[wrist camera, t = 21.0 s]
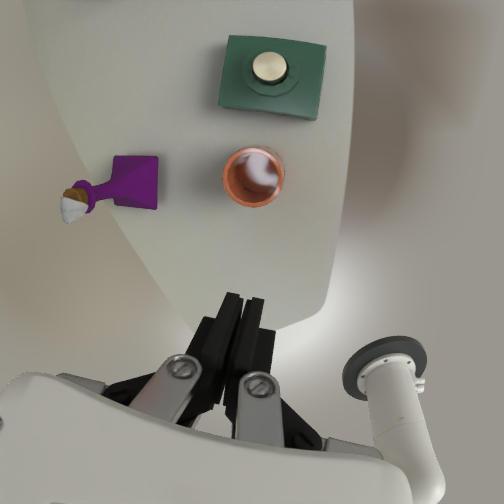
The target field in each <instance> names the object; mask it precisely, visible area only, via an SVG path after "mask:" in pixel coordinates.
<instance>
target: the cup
mask: <svg viewBox="0 0 504 504" xmlns="http://www.w3.org/2000/svg"><path fill="white" fill-rule="evenodd" d="M284 176H285V166H284V163H283V160H282V159H281V157H280V156H279V155H278V154H277V153H276V152H275V151H273V150H272V149H270V148H267V147H260V146H257V147H251V148H247V149H243V150H239V151H238V152H236V153H235V154H234V155H233V156H231V157H230V158H229V160H228V161H227V163H226V165H225V167H224V170H223V178H222V179H223V183H224V187H225V190H226V192H227V193H228V194H229V196H230V197H231V198H232V199H233V200H234V201H236V202H237V203H239V204H241V205H242V206H247V207H253V208H255V207H260V206H264V205H267V204H268V203H270V202H271V201H273V200H274V199H275V198H276V197H277V195H278V193H279V192H280V190H281V188H282V185H283V181H284Z"/></svg>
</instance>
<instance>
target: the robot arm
mask: <svg viewBox="0 0 504 504" xmlns="http://www.w3.org/2000/svg"><path fill="white" fill-rule="evenodd" d="M239 296H240V295H239V294H235V293H230V292H227V294H226V296H225V298H224V301H223V303H222V305H221V307H220V310H219V312H218V314H217V316H216V319H215V318H211V317H206V316H204V317H203V319H202V321H201V323H200V325H199V327H198V329H197V331H196V333H195V335H194V337H193V339H192V341H191V343H190V345H189V347H188V349H187V351H186V353H185V354H177V355H173V356H171V357H169V358H168V359H167V360H166V361H165V362H164V363H163V364H162V365H161V367H160V368H159V369H158V370H157V372H154V373H151V374H148V375H144V376H140V377H137V378H133V379H129V380H126V381H122V382H118V383H115V384H112V385H110V386H108V385H106V384H105V383H104V382H100V381H95V380H91V379H87V378H83V377H79V376H75V375H71V374H67V373H61V374H58V375H56V376H54V375H51V374H46V373H39V372H26V373H23V374H21V375H19V376H17V377H16V378H15V379H13V380H12V381H11V382H10V383H9V384H8V385H7V386H6V387H5V388H4V389H3V390H2V391H1V392H0V504H437V503H438V502H439V501H440V500H441V498H442V497H443V495H444V492H445V479H444V476H443V473H442V471H441V468H440V466H439V464H438V461H437V459H436V456H435V453H434V451H433V447H432V444H431V441H430V437H429V434H428V430H427V426H426V423H425V419H424V416H423V412H422V409H421V405H420V402H419V399H418V395H417V393H422V392H423V391H424V385H423V384H424V383H425V378H416V377H415V370H416V366H415V363H414V361H413V359H412V358H411V357H410V356H408V355H407V354H403V353H391V354H386V355H383V356H380V357H378V358H376V359H374V360H372V361H371V362H369V363H368V364H367V365H366V366H364V368H363V369H362V370H361V371H360V373H359V374H358V377H357V386H358V389H359V390H360V391H361V392H362V393H363V394H365V395H367V399H368V405H369V411H370V418H371V425H372V431H373V440H374V448H373V447H370V446H364V445H360V444H356V443H351V442H347V441H342V440H338V439H334V438H331V437H329V438H328V439H325V438H322V437H320V436H319V434H318V433H317V432H316V431H315V430H314V429H313V428H312V427H311V426H309V425H308V424H307V423H306V422H305V421H304V420H303V419H302V418H301V417H300V416H299V415H298V414H297V413H296V412H295V411H294V410H293V409H292V408H291V407H290V406H288V404H287V403H285V401H284V400H283V399H282V398H281V397H280V388H279V384H278V382H277V380H276V379H275V378H274V377H273V376H271V375H270V370H271V363H272V355H273V348H274V341H275V334H276V331H273V330H268V329H263V328H259V325H260V320H261V315H262V310H263V305H264V299H260V298H255V297H252V300H248V299H247V301H246V304H245V308H244V311H243V314H242V307H243V298H239ZM241 314H242V317H241ZM240 320H241V321H240ZM224 387H225V391H224V400H223V406H226V410H225V415H226V416H227V417H228V419H229V420H230V421H231V422H232V426H231V438H226V437H222V436H217V435H213V434H209V433H205V432H202V431H198V430H194V428H195V426H196V425H197V423H198V421H199V419H200V417H201V414H202V413H205V412H207V411H209V410H213V407H214V404H219V403H220V400H221V397H222V393H223V390H224Z"/></svg>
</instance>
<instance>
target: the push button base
mask: <svg viewBox="0 0 504 504" xmlns="http://www.w3.org/2000/svg"><path fill="white" fill-rule="evenodd" d="M326 48H327V46H324V45H319V44H313V43H308V42H301V41H295V40H287V39H279V38H269V37H257V36H237V35H229V39H228V44H227V50H226V56H225V62H224V68H223V74H222V80H221V87H220V94H219V101H218V106H220V107H222V108H225V109H237V110H247V111H255V112H264V113H271V114H278V115H284V116H291V117H296V118H302V119H308V120H313V121H315V120H316V119H317V114H318V107H319V101H320V94H321V87H322V80H323V72H324V64H325V57H326ZM265 52H275V53H277V54H279V55H281V56H282V57H283V58H284V60H285V62H286V67H287V73H286V76H285V78H284V79H283V80H282V81H280V82H278V83H275V84H267V83H264V82H262V81H261V80H259V79H258V77H257V76H256V74H255V73H254V70H253V62H254V60H255V58H256V57H257V56H258V55H260V54H262V53H265Z"/></svg>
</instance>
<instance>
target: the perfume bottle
mask: <svg viewBox="0 0 504 504" xmlns="http://www.w3.org/2000/svg"><path fill="white" fill-rule="evenodd" d="M157 185H158V157H157V156H114V159H113V168H112V174H111V179H110V180H109V181H107V182H106V183H104V184H100V185H96V186H91V184H90V183H89V182H87V181H85V180H80V181H77V182H76V183H75V184H74V185H73V186H72V188H70V189H66V190H65V192H64V193H63V197H61V213H62V217H63V221H64V223H66V224H69V223H72V222H74V221H75V220H77V219H78V218H79V217H81V216H82V215H83V214H85V213H90V212H91V210H93V208H94V207H95V203H96V202H97V201H99V200H103V199H110V198H113V200H114V204H115V205H117V206H126V207H135V208H144V209H153V210H156V209H157Z"/></svg>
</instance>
